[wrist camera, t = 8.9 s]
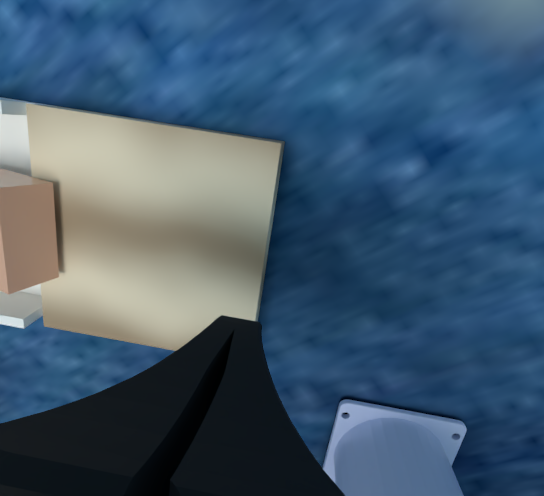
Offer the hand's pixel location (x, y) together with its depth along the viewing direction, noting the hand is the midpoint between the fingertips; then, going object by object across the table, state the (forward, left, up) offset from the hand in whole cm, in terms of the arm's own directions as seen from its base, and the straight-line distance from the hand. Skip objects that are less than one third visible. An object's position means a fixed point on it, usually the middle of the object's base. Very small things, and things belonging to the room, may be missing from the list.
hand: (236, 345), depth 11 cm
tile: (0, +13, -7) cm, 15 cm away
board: (0, +6, -9) cm, 11 cm away
